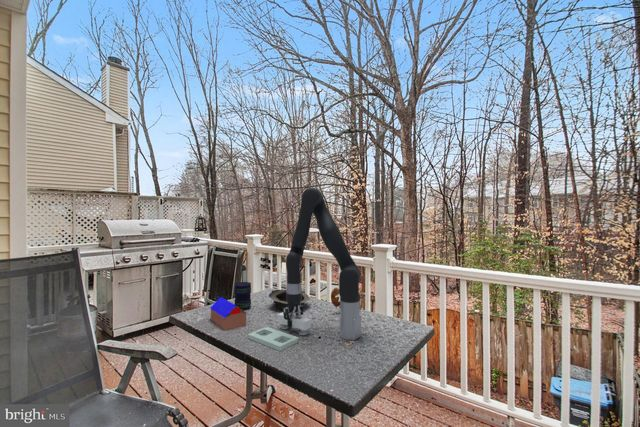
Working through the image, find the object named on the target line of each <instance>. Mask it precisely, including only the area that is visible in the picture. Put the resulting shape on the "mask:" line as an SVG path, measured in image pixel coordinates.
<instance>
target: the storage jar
mask: <svg viewBox="0 0 640 427" xmlns="http://www.w3.org/2000/svg"><path fill="white" fill-rule="evenodd" d="M251 293H252V283H251V282H250V281H249V282H248V281H239V282H236V283H234V302H233V304H234V305H236V306H238V307H239V308H240V309H242V310H243V311H245V312H246V311H249V310H251V309H252V298H251Z"/></svg>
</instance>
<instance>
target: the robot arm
mask: <svg viewBox="0 0 640 427" xmlns="http://www.w3.org/2000/svg"><path fill="white" fill-rule="evenodd" d="M313 215H314V218H315V220H316V224H317V227H318V228H317V229H318V232H319V235H320V237H321V239H322V242H323V243H324V245H325V248H326V249H327V250H328V251H329V252H330V254H331V255H332V256H333V257H334V259H335V260H336V262H337V264H338V266H339V268H340V273H339V276H338V289H339V294H338V295H339V302H340V306H339V337H340V338H342V339H343V340H347V341H348V340H352V341H355V340H357V339H359V338H361V337H362V316H361V315H360V304H361V302H360V300H361V299H360V297H361V296H360V292H359V291H360V290H359V289H360V288H359V285H360V284H359V282H360V280H361V276H362V275H361V271H360V269H359V267H358V266H357V264H356V263H355V261H354V259H353V258H352V256H351V253H350V252H349V250H348V247H347V245H346V243H345V240H344V238H343V235H342V234H341V231H340V229H339V227H338V226H337V224H336V222H335V220H334V218H333V217H332V215H331V213H330V211H329V209H328V207H327V203H326V202H325V198H324V196H323V194H322V192H321V191H320V190H319V189H317V188H315V187H307V188H306V189H305V190H303V192H302V194H301V201H300V208H299V215H298V219H297V222H296V223H297V224H296V225H295V229H294V233H293V236H292V240H291V246H290V250H289V253H288V254H287V255H286V258H285V265H286V267H285V268H286V287H285V288H286V289H285V290H286V301H287V303H288V304H287V307H286V308H283V310H282V312H283V315H284V319H285V320H287V324H288V325H287V326H288V328H289V329H292V328H293V327H292V317H293V316H294V315H298V316H301V317H302V316H304V311H305V303H306V302H304V303H303V302H301V300H302V293H303V292H302V291H303V290H302V273H301V262H302V260H303V256H304V251H305V248H306V244H307V241H308V239H309V234H310V229H311V222H312V217H313ZM290 313H291V314H290ZM286 316H287V317H286ZM289 317H290V318H289Z"/></svg>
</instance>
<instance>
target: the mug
mask: <svg viewBox="0 0 640 427" xmlns="http://www.w3.org/2000/svg"><path fill="white" fill-rule="evenodd" d="M338 295H340V294H339V287H334V288H333V289H332V291H331V293H330V300H331V303H332V305H333V306H334V307H335V308H338V307H340V301H338V300H337V298H336V296H338Z"/></svg>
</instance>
